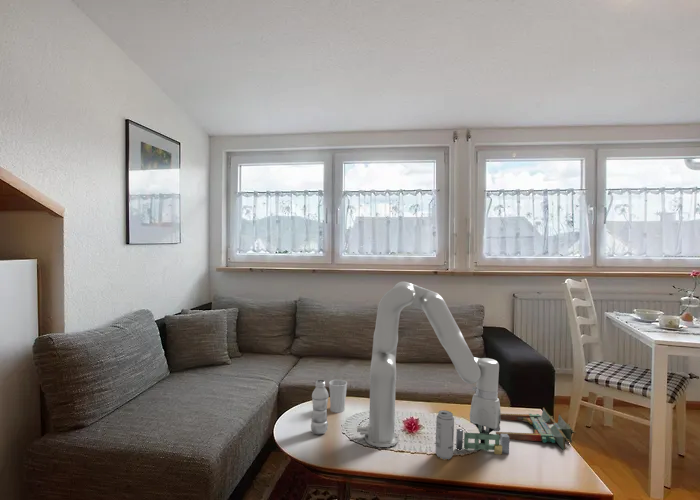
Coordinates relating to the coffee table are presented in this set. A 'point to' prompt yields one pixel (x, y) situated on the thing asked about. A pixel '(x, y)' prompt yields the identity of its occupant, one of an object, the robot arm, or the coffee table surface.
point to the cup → (337, 395)
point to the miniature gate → (541, 428)
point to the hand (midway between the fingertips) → (483, 442)
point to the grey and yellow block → (502, 445)
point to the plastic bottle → (319, 408)
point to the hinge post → (459, 439)
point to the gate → (477, 445)
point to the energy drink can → (444, 434)
